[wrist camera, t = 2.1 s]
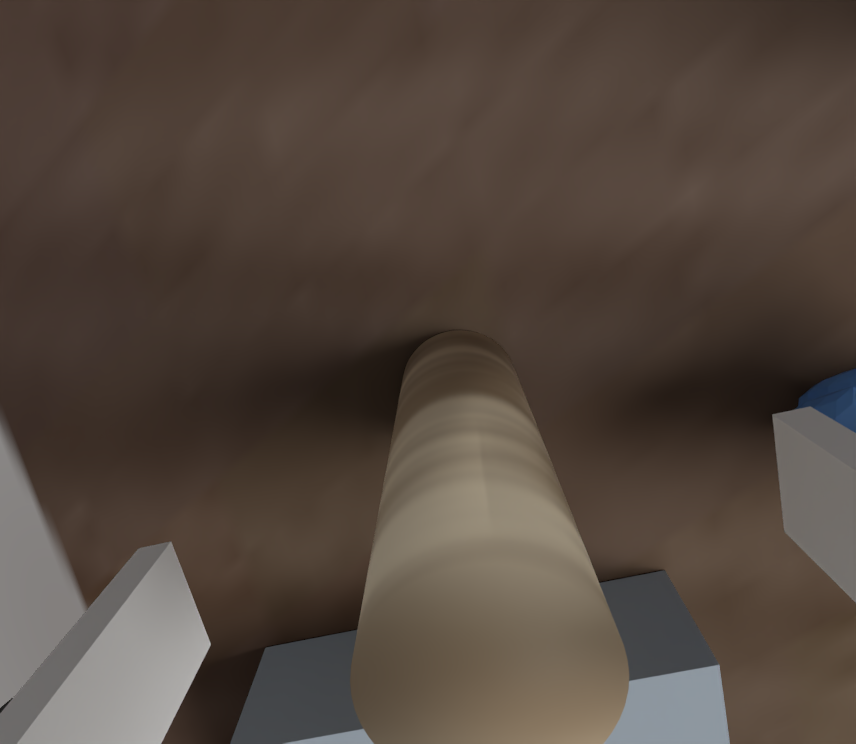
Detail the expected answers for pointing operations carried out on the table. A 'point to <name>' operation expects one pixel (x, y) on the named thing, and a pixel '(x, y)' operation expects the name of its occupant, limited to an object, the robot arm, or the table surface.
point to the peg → (479, 573)
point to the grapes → (834, 398)
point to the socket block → (630, 740)
